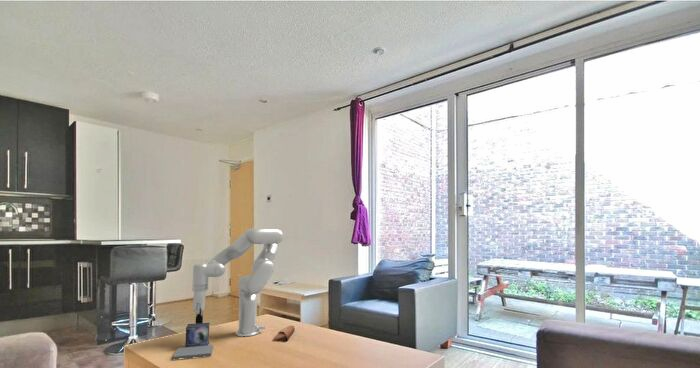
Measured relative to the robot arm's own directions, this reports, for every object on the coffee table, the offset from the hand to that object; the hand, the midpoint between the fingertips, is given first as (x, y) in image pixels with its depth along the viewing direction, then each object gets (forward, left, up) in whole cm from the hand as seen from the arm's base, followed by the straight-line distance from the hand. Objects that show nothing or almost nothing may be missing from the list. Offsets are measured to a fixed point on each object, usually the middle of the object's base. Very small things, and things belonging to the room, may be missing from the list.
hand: (199, 324), depth 192 cm
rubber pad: (0, +17, -9) cm, 19 cm away
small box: (0, +6, -10) cm, 11 cm away
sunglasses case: (-43, +2, -10) cm, 44 cm away
